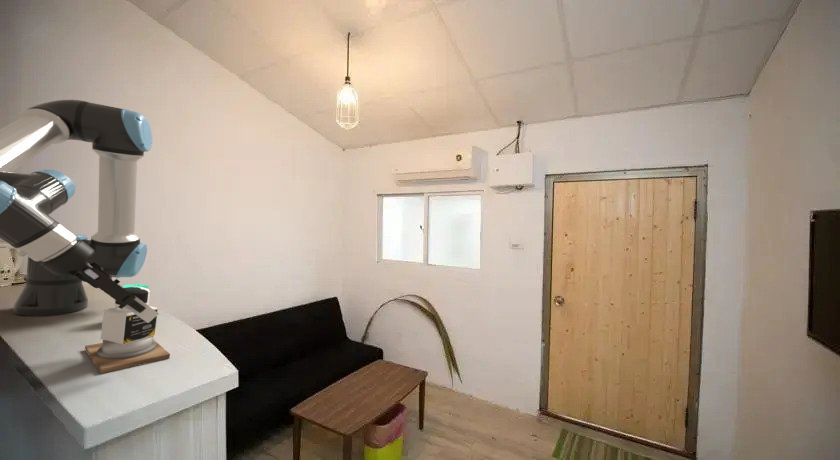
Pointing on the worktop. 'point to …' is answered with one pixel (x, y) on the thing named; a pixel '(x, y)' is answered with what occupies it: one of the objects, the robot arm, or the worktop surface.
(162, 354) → the stub board
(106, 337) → the medicine bottle
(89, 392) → the worktop surface
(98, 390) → the worktop surface
